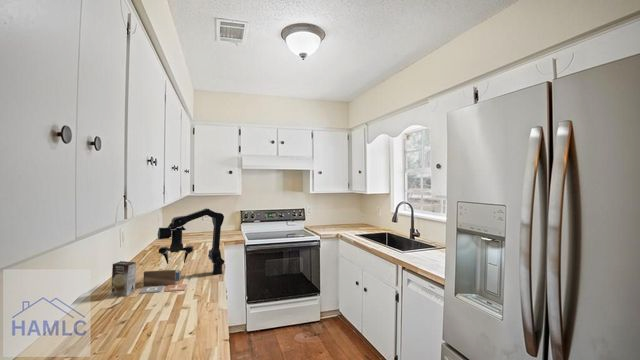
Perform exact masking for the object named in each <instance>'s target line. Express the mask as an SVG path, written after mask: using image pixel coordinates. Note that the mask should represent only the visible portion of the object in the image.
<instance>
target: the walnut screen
mask: <svg viewBox="0 0 640 360" xmlns="http://www.w3.org/2000/svg"><path fill="white" fill-rule="evenodd" d="M176 270H177V269H165V270H145V271H144V272H143V280H142V283H143V285H142V286H143V287H142V288H144V286H146V287H149V286H168V285H176V281H175V280H176Z"/></svg>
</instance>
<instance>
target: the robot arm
mask: <svg viewBox="0 0 640 360" xmlns="http://www.w3.org/2000/svg"><path fill="white" fill-rule="evenodd" d="M205 216H208V217H210V218H211V222H212V224H213V228H212V229H213V231H212V232H213V233H212V244H211V249H209V250H208V255H207V256H208V258H209V260H210V261H211V263H212V271H211V274H212V275H221V274H222V275H223V265H224V264H225V260H224V259H223V258H222V252H221V249H220V246H221V244H220V243H221V231H222V225H223V223H224V219H225V216H224V214H223V213H222V212H218V211H217V212H215V211H214V210H211V209H210V208H203V209H201V210H198V211H195V212H192V213H189V214H187V215H180V216H174V217H173V218H172V219H171V222H170V223H169V224H168V226H167V227H159V228H158V230H157V239H158V240H167V239H170V238H171V244H170V246H169V247H168V246H161V247H160V248H159V249H158V254H160V255H162V256H164V259H165V261H166V264H167V265H169V252H170V253H179V252H181V251H183V252H184V251H185V252H184V258H183V264H186V261H187V259H188V255H189V254H191V253H192V252H194V245H186V247H184V243H183V231H186V230H187V228H185V227H184V226H185V225H186V224H187V223H189V222H191V221H194V220H196V219H199V218H203V217H205Z"/></svg>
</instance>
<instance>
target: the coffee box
mask: <svg viewBox="0 0 640 360" xmlns="http://www.w3.org/2000/svg"><path fill="white" fill-rule="evenodd" d="M111 271H112V272H111V290H110V295H111V296H118V295H119V296H122V297H128V296H129V295H132V294H133V293H135V291H136V289H135V288H136V276H137V275H136V271H137V262H136V261H123V260H120V261H117V262H115V263H112V270H111Z"/></svg>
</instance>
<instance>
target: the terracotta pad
mask: <svg viewBox="0 0 640 360" xmlns="http://www.w3.org/2000/svg"><path fill="white" fill-rule="evenodd" d="M166 286H167V287H166V288H165V289H164V292H165V293H169V292H181V291H182V292H183V291H184V292H185V290H186V289H187V286H188V284H187V283H184V284H183V283H182V284H180V283H179V284H175V285H166Z"/></svg>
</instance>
